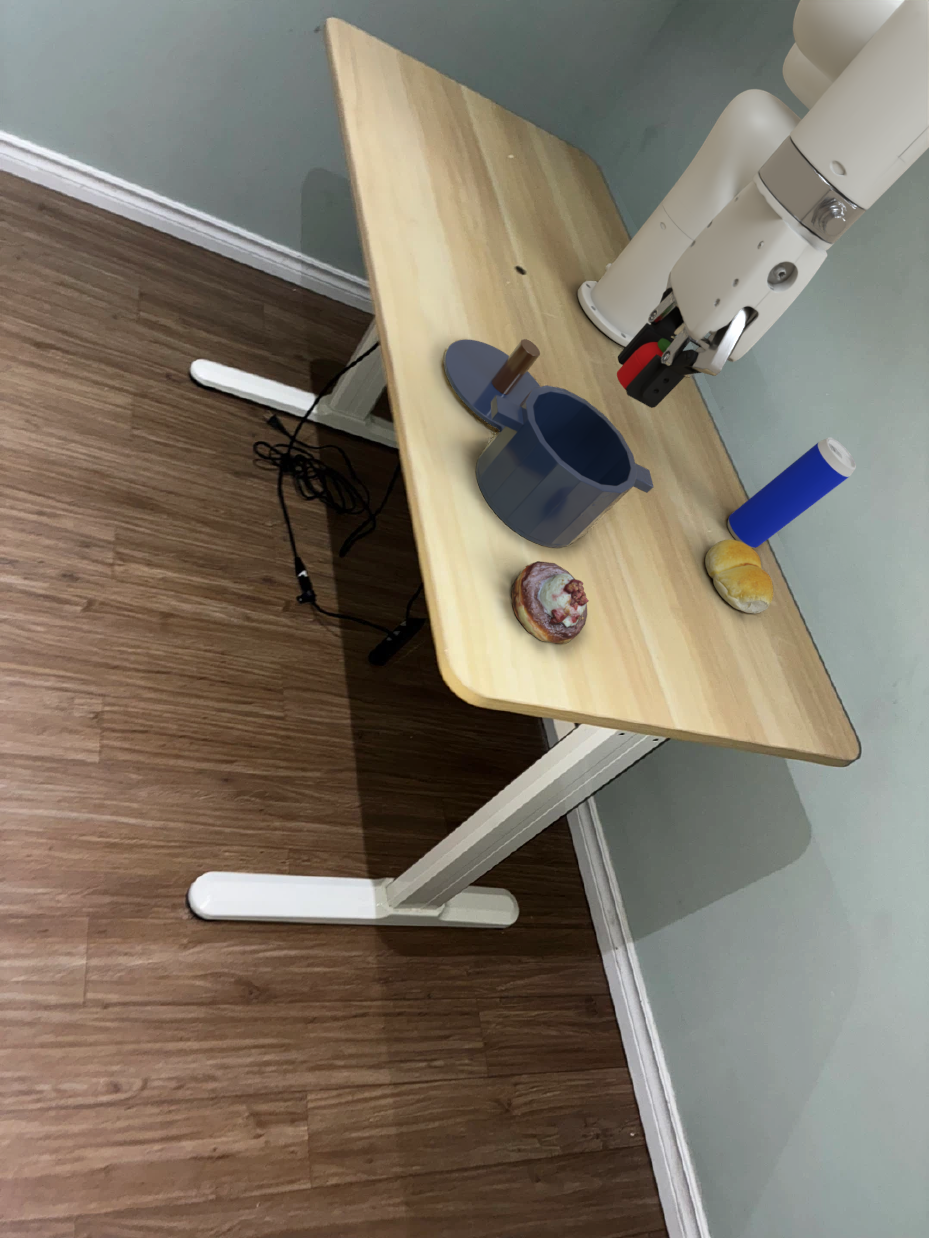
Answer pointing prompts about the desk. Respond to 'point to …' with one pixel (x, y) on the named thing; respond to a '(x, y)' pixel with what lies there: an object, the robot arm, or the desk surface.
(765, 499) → the beverage can
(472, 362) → the lid
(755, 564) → the bread roll
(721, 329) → the robot arm
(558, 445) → the pot
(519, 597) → the pastry
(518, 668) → the desk surface
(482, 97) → the desk surface
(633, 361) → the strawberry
